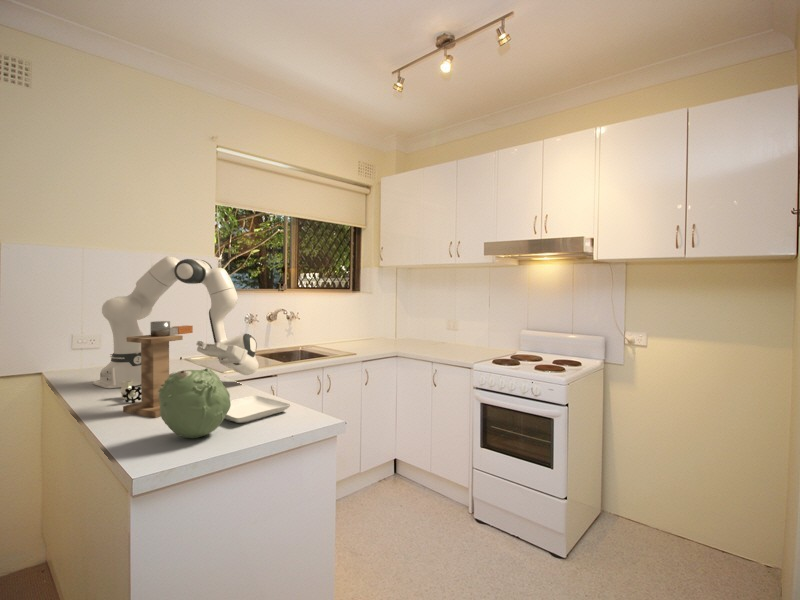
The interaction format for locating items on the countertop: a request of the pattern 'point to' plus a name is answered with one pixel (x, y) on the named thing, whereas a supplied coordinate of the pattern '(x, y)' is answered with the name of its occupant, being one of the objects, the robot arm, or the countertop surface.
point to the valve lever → (168, 329)
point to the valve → (129, 391)
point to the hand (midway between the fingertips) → (206, 343)
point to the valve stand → (151, 373)
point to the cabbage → (193, 402)
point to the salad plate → (254, 408)
